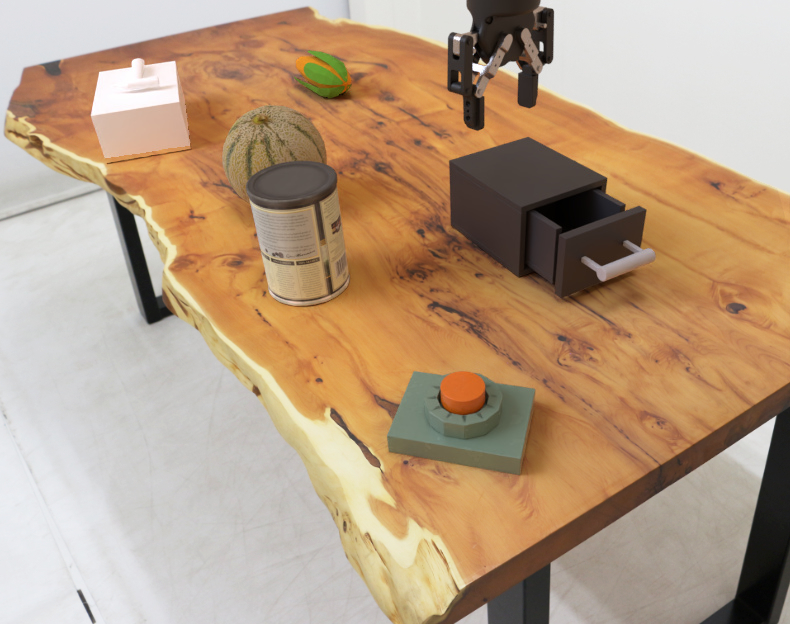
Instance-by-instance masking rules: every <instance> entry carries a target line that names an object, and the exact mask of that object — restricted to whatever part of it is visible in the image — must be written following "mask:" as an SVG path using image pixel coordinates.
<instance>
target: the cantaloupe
mask: <svg viewBox="0 0 790 624" xmlns="http://www.w3.org/2000/svg"><path fill="white" fill-rule="evenodd" d="M327 155H328V154H327V148H326V144H325V140H324V139H323V136H322V134H321V132H320V131H319V129H317V127H316V126H315V123H313V122H312V121H311V120H310V119H309V118H308V117H306V115H304V114H303V113H302V112H300V111H299V110H297V109H294V108H291V107H288V106H285V105H275V104H273V105H272V104H268V105H262V106H259V107H257V108H254V109H251V110H249V111H247V112H245V113H244V114H242V115H241V116H240V117H239V118H237V119H236V120H235V122H234V123H233V124H232V126H231V127H230V129H229V131H228V133H227V136H226V138H225V141H224V143H223V146H222V155H221V159H222V161H221V164H222V168H223V171H224V174H225V178H226V179H227V181H228V183H229V185H230V186H231V188H232V189H233V190H234V191H235V193H236V194H237V195H238V196H239V198H241V199H242V200H244V201H245V202H246V203H248V204H249V205H251V204H250V200H249V196H248V194H247V191H246V183H247V181H248V180H249V178H250V177H251V176H253V175H254V174H255V173H257V172H259V171H260V170H262V169H265V168H267V167H269V166H272V165H276V164H279V163H284V162H290V161H315V162H320V163H324V164H326V165H328V161H327V160H328V156H327Z"/></svg>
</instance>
